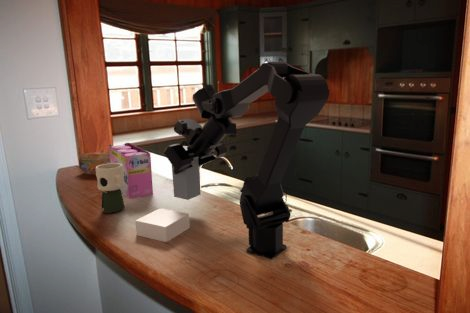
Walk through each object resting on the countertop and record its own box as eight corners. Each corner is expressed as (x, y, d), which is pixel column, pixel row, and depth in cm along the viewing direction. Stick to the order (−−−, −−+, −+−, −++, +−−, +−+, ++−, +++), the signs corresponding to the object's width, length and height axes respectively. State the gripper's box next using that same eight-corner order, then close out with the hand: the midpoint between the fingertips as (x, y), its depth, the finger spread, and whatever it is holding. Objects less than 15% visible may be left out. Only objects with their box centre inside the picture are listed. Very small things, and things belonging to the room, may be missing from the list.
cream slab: (189, 228, 93) (188, 213, 92) (166, 243, 85) (165, 227, 85) (161, 222, 97) (160, 208, 96) (136, 236, 90) (135, 220, 89)
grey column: (200, 194, 102) (197, 147, 99) (187, 199, 98) (184, 151, 95) (187, 191, 105) (183, 145, 102) (174, 196, 101) (170, 149, 98)
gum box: (110, 181, 136) (106, 144, 133) (131, 177, 140) (128, 141, 137) (129, 199, 116) (125, 156, 113) (154, 194, 120) (151, 152, 117)
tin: (79, 173, 147) (77, 152, 145) (85, 171, 150) (82, 151, 148) (112, 176, 143) (110, 154, 141) (117, 173, 146) (115, 152, 144)
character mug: (92, 209, 107) (87, 165, 105) (115, 203, 112) (111, 160, 109) (111, 219, 100) (106, 171, 97) (134, 211, 105) (130, 166, 102)
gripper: (216, 105, 101) (188, 142, 110) (166, 112, 87) (138, 154, 95) (241, 136, 99) (210, 172, 107) (194, 149, 84) (162, 188, 93)
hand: (181, 170), depth 101 cm, fingers closed on grey column, 5 cm apart
